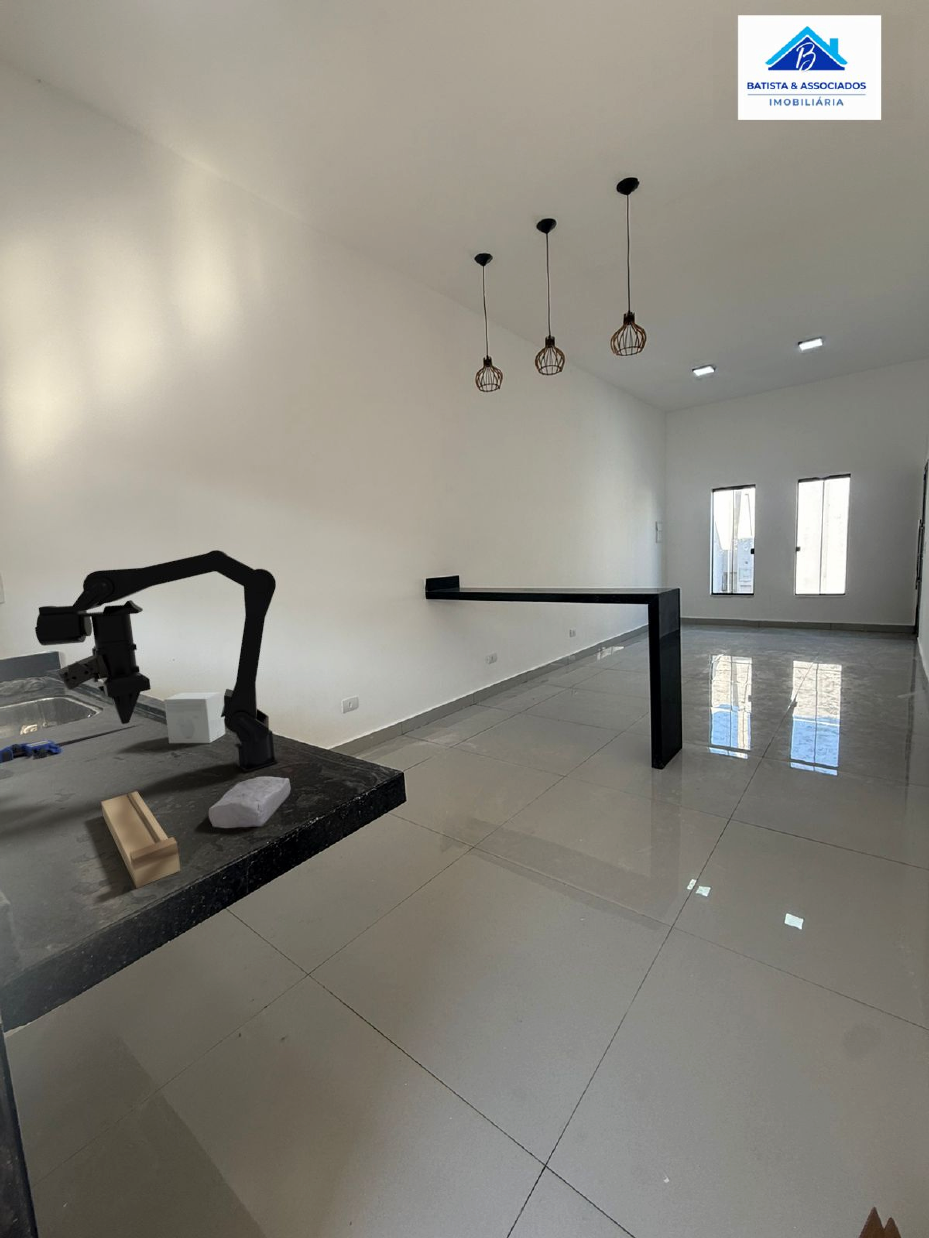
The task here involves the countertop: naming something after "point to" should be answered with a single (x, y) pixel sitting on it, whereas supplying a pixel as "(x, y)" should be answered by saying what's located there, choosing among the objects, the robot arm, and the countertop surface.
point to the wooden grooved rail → (140, 839)
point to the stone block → (250, 802)
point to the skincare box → (194, 717)
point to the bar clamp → (40, 747)
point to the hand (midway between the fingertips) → (125, 723)
